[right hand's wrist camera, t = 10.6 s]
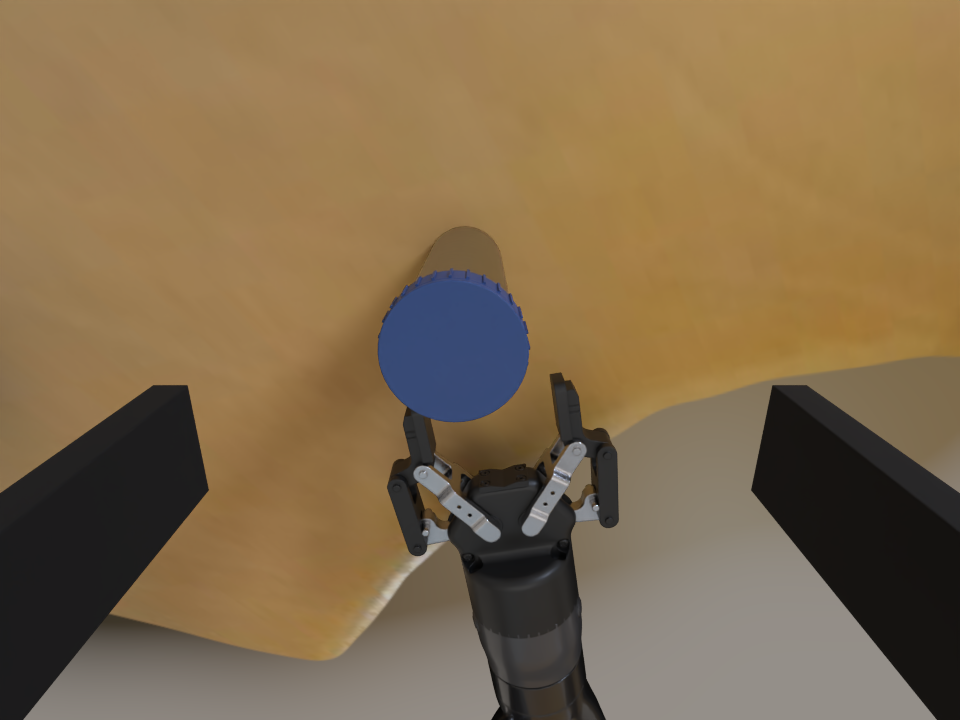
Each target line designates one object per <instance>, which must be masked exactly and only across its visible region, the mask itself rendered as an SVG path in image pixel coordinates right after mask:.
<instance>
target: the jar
mask: <svg viewBox="0 0 960 720" xmlns="http://www.w3.org/2000/svg"><path fill="white" fill-rule="evenodd" d="M450 268H453V270H459V271H467V269H468V270H470V272H472V273H476V274H479V275H482V276H483V274H485V275H486V278H488V279H490V280H492V281H493V282H495V283H496V284H497V283H498V282H499V283H500V286H501V288H502V289H504V290H505V291H506V292H507V293H508V288H507V283H506V278H505V274H504V269H503V264H502V259H501V254H500V251H499V249H498V246H497V245H496V243H495V242H494V240H493V239H492V238H491V237H490V236H489V235H488V234H486V233H485V232H483V231H481V230H479V229H476V228H473V227H457V228H453V229H451V230H449V231H447V232H445V233H444V234H442V235H441V236H440V237H439V238H438V239H437V240H436V242H435V243H434V245H433V247H432V249H431V251H430V253H429V255H428V257H427V259H426V261H425V263H424V265H423V267H422V269H421V271H420V273H419V275H418V277H420V276H421V277H422V278H423V277H425V276H427V275H430V274H433V272H434V271H435V270H437V272H441V271H449V270H450ZM418 277H417V279H418ZM417 279H416V281H417ZM416 281H415V282H416ZM508 295H509V293H508Z"/></svg>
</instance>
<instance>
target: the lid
mask: <svg viewBox="0 0 960 720" xmlns="http://www.w3.org/2000/svg"><path fill="white" fill-rule="evenodd" d="M390 308H391V310H390V311H389V310H388V312H387V313H386V315H385V317H384V319H383V320H382V322H383V325H382V328H381V331H380V333H379V335H378V338H379V341H378V359H379V365H380V368H381V372H382V374H383V377H384V379H385V381H386V383H387V385H388V386H389V388H390V389H391V391H392V392H393V393H394V395H395V396H396V397H397V398H398V399H399V400H400V401H401V402H402V403H403V404H405V405H406V406H407V407H409V408H410V409H411V410H413V411H415V412H417V413H418V414H421V415H423V416H425V417H428V418H431V419H434V420H439V421H444V422H465V421H470V420H475V419H478V418H481V417H484V416H486V415H488V414H490V413H492V412H494V411H496V410H497V409H499V408H500V407H501V406H503V405H504V404H505V403H506V402H507V401H508V400H509V399H510V398H511V397H512V396H513V395H514V393H515V392H516V391H517V390H518V388H519V386H520V384H521V383H522V381H523V378H524V376H525V373H526V369H527V365H528V358H529V350H530V345H529V341H528V337H527V335H526V334H528V330H527V326H526V322H525V321H523V320H522V318H523V316H522V312H521V308H520V307H517V305H516V304H515V302H514V301H513V298H512V295H511V293H510V294H509V295H508V293H507V292H506V291H505V290H504V289H502V288H501V286H500V283H499V282H498V283H497V284H496V283H495V282H493V281H492V280H490V279H488V278H486V275H485V274H483V276H482V275H479V274H476V273H472V272H470V270H468V269H467V271H459V270H453V268H450V270H449V271H441V272H437V270H435V271H434V272H433V274H430V275H427V276H425V277H423V278H422V277H421V276H420V277H418V279H417V281H416V282H414V283H413V284H411V285H410V286H408V285H406V286H405V288H404V290H403V291H402V293H401V295H400V296H399V297H398V298H397V297H395V299H394V301H393V302H392V304H391V306H390Z"/></svg>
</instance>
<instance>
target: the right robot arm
mask: <svg viewBox="0 0 960 720" xmlns="http://www.w3.org/2000/svg"><path fill="white" fill-rule="evenodd" d="M208 491H209V489H208V484H207V479H206V474H205V469H204V464H203V459H202V454H201V449H200V445H199V440H198V435H197V430H196V425H195V420H194V415H193V410H192V405H191V400H190V395H189V390H188V385H153V386H152V387H150V388H149V389H147V390H146V391H145V392H143V393H142V394H140V395H139V396H138V397H136V398H135V399H133V400H132V401H130V402H129V403H128V404H126V405H125V406H123V407H122V408H121V409H119V410H118V411H116V412H115V413H113V414H112V415H111V416H109V417H108V418H106V419H105V420H103V421H102V422H101V423H99V424H98V425H96V426H95V427H94V428H92V429H91V430H89V431H88V432H86V433H85V434H84V435H82V436H81V437H79V438H78V439H77V440H75V441H74V442H72V443H71V444H69V445H68V446H67V447H65V448H64V449H62V450H61V451H60V452H58V453H57V454H55V455H54V456H52V457H51V458H50V459H48V460H47V461H45V462H44V463H43V464H41V465H40V466H38V467H37V468H35V469H34V470H33V471H31V472H30V473H28V474H27V475H25V476H24V477H23V478H21V479H20V480H18V481H17V482H16V483H14V484H13V485H11V486H10V487H8V488H7V489H6V490H4V491H3V492H1V493H0V720H23V719H24V718H25V717H26V715H27V714H28V713H29V712H30V711H31V709H32V708H33V707H34V706H35V704H36V703H37V702H38V701H39V699H40V698H41V697H42V696H43V694H44V693H45V692H46V691H47V690H48V688H49V687H50V686H51V685H52V683H53V682H54V681H55V680H56V678H57V677H58V676H59V675H60V673H61V672H62V671H63V670H64V669H65V667H66V666H67V665H68V664H69V662H70V661H71V660H72V659H73V657H74V656H75V655H76V654H77V652H78V651H79V650H80V649H81V647H82V646H83V645H84V644H85V643H86V641H87V640H88V639H89V638H90V636H91V635H92V634H93V633H94V631H95V630H96V629H97V628H98V627H99V625H100V624H101V623H102V622H103V620H104V619H105V618H106V617H107V615H108V614H109V613H110V612H111V610H112V609H113V608H114V607H115V605H116V604H117V603H118V602H119V601H120V599H121V598H122V597H123V596H124V594H125V593H126V592H127V591H128V589H129V588H130V587H131V586H132V584H133V583H134V582H135V581H136V580H137V578H138V577H139V576H140V575H141V573H142V572H143V571H144V570H145V568H146V567H147V566H148V565H149V563H150V562H151V561H152V560H153V559H154V557H155V556H156V555H157V554H158V552H159V551H160V550H161V549H162V547H163V546H164V545H165V544H166V542H167V541H168V540H169V539H170V538H171V536H172V535H173V534H174V533H175V531H176V530H177V529H178V528H179V526H180V525H181V524H182V523H183V521H184V520H185V519H186V518H187V517H188V515H189V514H190V513H191V512H192V510H193V509H194V508H195V507H196V505H197V504H198V503H199V502H200V500H201V499H202V498H203V497H204V496H205V494H206V493H207V492H208ZM751 491H752V492H753V493H754V494H755V496H756V497H757V498H758V499H759V500H760V502H761V503H762V504H763V505H764V507H765V508H766V509H767V510H768V512H769V513H770V514H771V515H772V516H773V518H774V519H775V520H776V521H777V523H778V524H779V525H780V526H781V528H782V529H783V530H784V531H785V533H786V534H787V535H788V536H789V538H790V539H791V540H792V541H793V542H794V544H795V545H796V546H797V547H798V549H799V550H800V551H801V552H802V554H803V555H804V556H805V557H806V559H807V560H808V561H809V562H810V563H811V565H812V566H813V567H814V568H815V570H816V571H817V572H818V573H819V575H820V576H821V577H822V578H823V580H824V581H825V582H826V583H827V584H828V586H829V587H830V588H831V589H832V591H833V592H834V593H835V594H836V596H837V597H838V598H839V599H840V601H841V602H842V603H843V604H844V605H845V607H846V608H847V609H848V610H849V612H850V613H851V614H852V615H853V617H854V618H855V619H856V620H857V622H858V623H859V624H860V625H861V627H862V628H863V629H864V630H865V631H866V633H867V634H868V635H869V636H870V638H871V639H872V640H873V641H874V643H875V644H876V645H877V646H878V648H879V649H880V650H881V651H882V652H883V654H884V655H885V656H886V657H887V659H888V660H889V661H890V662H891V664H892V665H893V666H894V667H895V669H896V670H897V671H898V672H899V673H900V675H901V676H902V677H903V678H904V680H905V681H906V682H907V683H908V685H909V686H910V687H911V688H912V690H913V691H914V692H915V693H916V694H917V696H918V697H919V698H920V699H921V701H922V702H923V703H924V704H925V706H926V707H927V708H928V709H929V711H930V712H931V713H932V714H933V715H934V717H935V718H936V719H937V720H960V493H959V492H957V491H956V490H954V489H953V488H952V487H950V486H949V485H947V484H946V483H944V482H943V481H942V480H940V479H939V478H937V477H936V476H934V475H933V474H932V473H930V472H929V471H927V470H926V469H925V468H923V467H922V466H920V465H919V464H917V463H916V462H915V461H913V460H912V459H910V458H909V457H908V456H906V455H905V454H903V453H902V452H900V451H899V450H898V449H896V448H895V447H893V446H892V445H891V444H889V443H888V442H886V441H885V440H883V439H882V438H881V437H879V436H878V435H876V434H875V433H873V432H872V431H871V430H869V429H868V428H866V427H865V426H864V425H862V424H861V423H859V422H858V421H856V420H855V419H854V418H852V417H851V416H849V415H848V414H846V413H845V412H844V411H842V410H841V409H839V408H838V407H837V406H835V405H834V404H832V403H831V402H830V401H828V400H827V399H825V398H824V397H822V396H821V395H820V394H818V393H817V392H815V391H814V390H812V389H811V388H810V387H808V386H807V385H773V386H772V390H771V395H770V400H769V405H768V410H767V415H766V420H765V425H764V430H763V435H762V440H761V445H760V450H759V454H758V459H757V464H756V469H755V474H754V479H753V484H752V489H751Z"/></svg>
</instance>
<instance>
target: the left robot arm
mask: <svg viewBox="0 0 960 720" xmlns="http://www.w3.org/2000/svg"><path fill="white" fill-rule="evenodd" d="M550 381H551V389H552V396H553V403H554V411H555V418H556V425H557V428H558V432H559V434H558V436H557V437H556V439H555V440H554V442H553V444H552V445H551V447H550V448H547V449H546V450H545V451H544V452H543V454H542V455H541V457H540V459H539V460H538V462H537V463H536V465H535V466H534V468H530V467H526V464H520V465H514V466H511V467H509V468H506V469H504V470H497V469H487V470H480V471H479V474H478V475H476V476H474V477H473V476H472V475H471V474H469V473H468V472H467V471H466V470H464V469H463V468H462V467H461V466H459V465H458V464H457V463H450V462H449V461H448V460H447V459H445V458H444V457H443V456H441V455H440V454H439V453H438V452H436V451H435V448H436V442H435V437H434V433H433V429H432V424H431V420H430V418H428V417H425V416H423V415H421V414H418V413H417V412H415V411H413V410H411V409H410V408H409V407H407V409H406V413H405V416H404V422H403V427H404V431H405V435H406V438H407V443H408V447H409V451H410V455H411V456H410V457H409V458H407V459H398V460H396V461H395V462H394V463H393V467H392V470H391V474H390V478H389V482H388V486H387V489H388V492H389V495H390V498H391V501H392V504H393V506H394V509H395V512H396V515H397V518H398V521H399V524H400V527H401V530H402V533H403V535H404V538H405V541H406V544H407V547H408V550H409V552H410V553H411V554H412V555H415V556H421V555H423V554H425V552H426V551H427V545H429V544H434V543H439V542H445V541H451V543H452V544H454V545H455V547H456V548H457V549H458V551H459V553H460V556H461V560H462V565H463V569H464V573H465V578H466V582H467V587H468V591H469V595H470V600H471V605H472V609H473V621H474V624H475V627H476V628H477V631H478V635H479V638H480V641H481V644H482V647H483V649H484V651H485V653H486V656H487V659H488V664H489V668H490V673H491V677H492V682H493V686H494V690H495V694H496V697H497V700H498V703H499V705H500V707H499V708H498V710H497V711H496V713H495V714H494V716H493V718H492V719H491V720H606V719H605V717H604V715H603V712H602V710H601V708H600V705H599V703H598V701H597V698H596V696H595V695H594V693H593V691H592V689H591V687H590V685H589V683H588V681H587V679H586V672H585V664H584V657H583V649H582V642H581V633H582V618H581V611H582V606H581V600H580V597H579V594H578V587H577V580H576V572H575V565H574V557H573V550H572V543H571V531H572V529H573V527H574V525H575V522H582V521H592V520H599V521H600V524H601V525H602V526H603V527H605V528H611V527H614V526H615V525H617V523H618V521H619V513H618V469H617V452H616V449H615V447H614V446H613V445H612V443H611V441H610V437H609V435H608V433H607V431H606V430H605V429H603V428H596V429H594V430H588V429H585V428H583V427H582V422H581V413H580V405H579V396H578V394H577V392H576V389H575V387H574V385H573V384H572V382H571V380H568V381H564V379H563V376H562V373H555V374H550ZM584 457H589V458H591V480H592V485H590V484H588V485H586V486H585V489H584V490H583V491H582V496H581V498H580V499H579V500H578V501H576V502H572V501H571V500H570V498H569V497H568V496H567V495H565V494H564V492H565V491H566V489H567V488H568V486H569V484H570V481H571V476H572V474H573V472H574V471H575V469H576V468H577V466H578V465H579V463H580V462H581V461H582V459H583V458H584ZM418 482H419V483H421V484H422V485H423V486H425V487H426V488H427V489H428V490H430V491H431V492H432V493H434V494H435V495H436V496H437V497H438V500H439V502H440V503H441V504H442V505H443V506H444V507H445V508H446V509H448V510H449V511H450V512H451V514H450V515H449V518H448V521H442V520H440V519H438V518H437V517H436V515H435V513H434V512H432V510H431V509H429V508H427V509H425V508H424V505H423V502H422V499H421V496H420V493H419V490H418V486H417V483H418Z"/></svg>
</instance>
